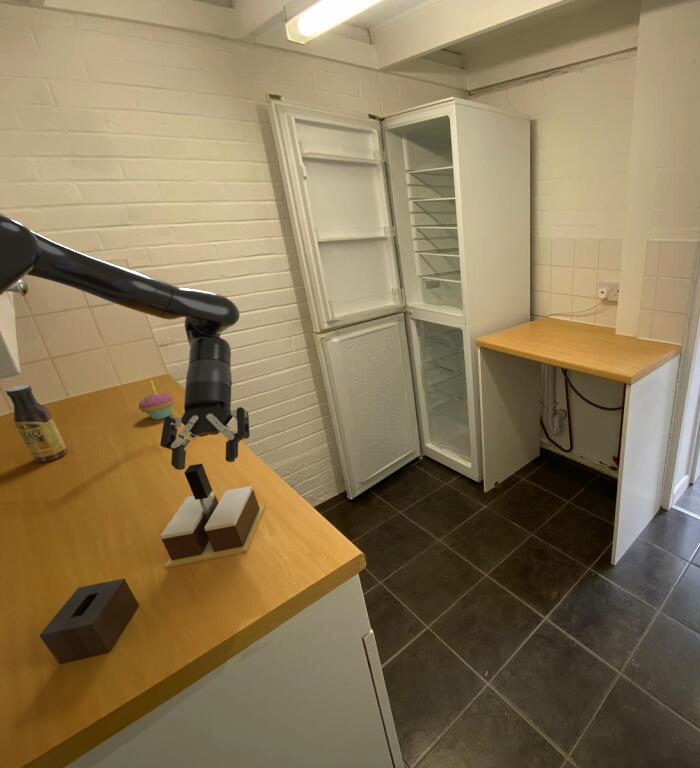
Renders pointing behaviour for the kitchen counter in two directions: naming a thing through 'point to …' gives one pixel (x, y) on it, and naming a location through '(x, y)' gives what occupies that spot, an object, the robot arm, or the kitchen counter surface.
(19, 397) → the sauce bottle
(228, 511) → the cake
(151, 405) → the cupcake
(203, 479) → the knife
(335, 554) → the kitchen counter surface
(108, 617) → the knife block
